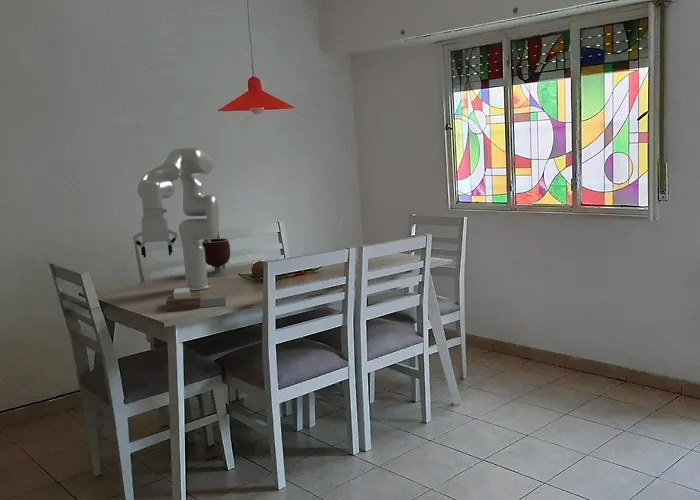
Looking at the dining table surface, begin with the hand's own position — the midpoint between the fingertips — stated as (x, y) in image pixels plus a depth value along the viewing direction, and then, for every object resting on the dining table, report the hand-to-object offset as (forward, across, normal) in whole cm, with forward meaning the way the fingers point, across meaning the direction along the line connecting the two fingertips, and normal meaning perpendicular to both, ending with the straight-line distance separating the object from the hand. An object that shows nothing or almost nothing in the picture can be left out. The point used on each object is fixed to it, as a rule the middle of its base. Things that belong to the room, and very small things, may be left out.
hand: (157, 255), depth 271 cm
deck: (+22, -8, -2) cm, 23 cm away
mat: (+22, -20, -1) cm, 29 cm away
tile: (+18, -8, -2) cm, 19 cm away
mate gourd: (+21, -24, -68) cm, 75 cm away
